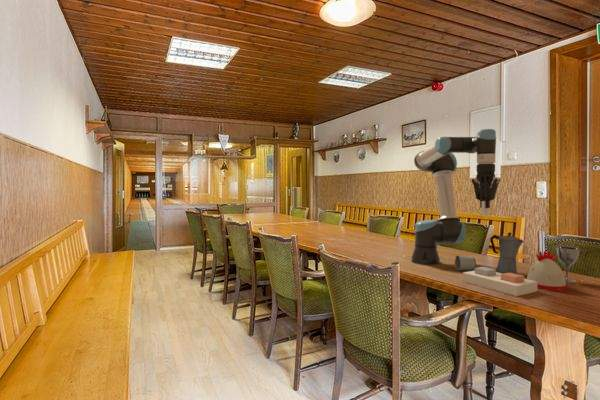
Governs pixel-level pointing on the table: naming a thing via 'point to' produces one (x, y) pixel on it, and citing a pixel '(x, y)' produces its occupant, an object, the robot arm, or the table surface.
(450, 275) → the table surface
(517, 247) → the moka pot
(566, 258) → the wine glass
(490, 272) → the grey rounded block
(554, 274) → the beige red dome
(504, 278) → the pink rounded block
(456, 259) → the grey cylinder
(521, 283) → the panel
